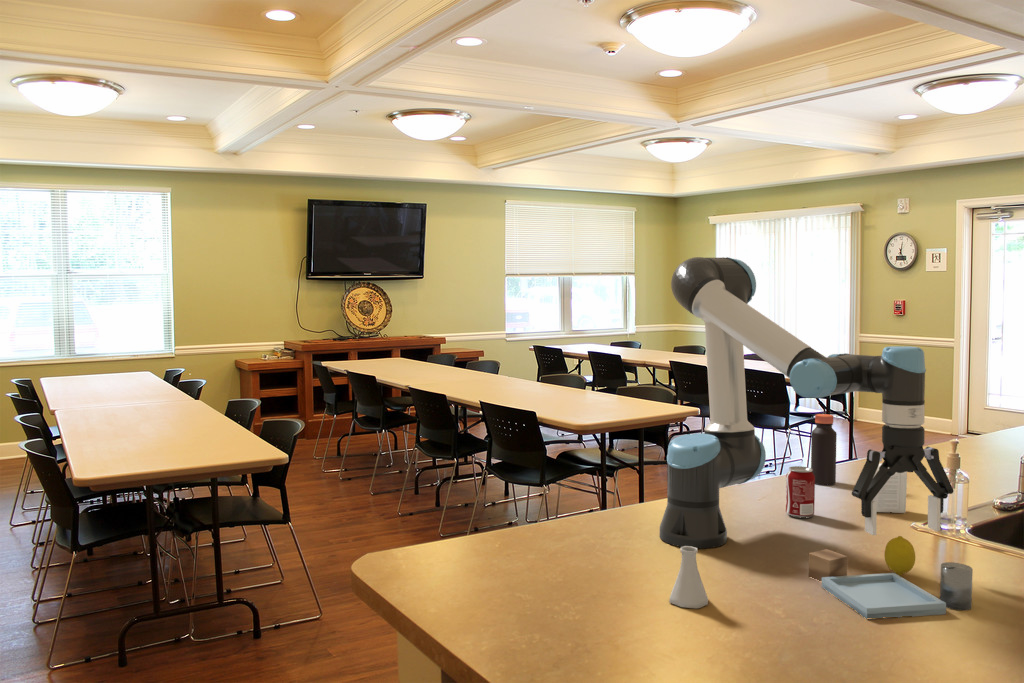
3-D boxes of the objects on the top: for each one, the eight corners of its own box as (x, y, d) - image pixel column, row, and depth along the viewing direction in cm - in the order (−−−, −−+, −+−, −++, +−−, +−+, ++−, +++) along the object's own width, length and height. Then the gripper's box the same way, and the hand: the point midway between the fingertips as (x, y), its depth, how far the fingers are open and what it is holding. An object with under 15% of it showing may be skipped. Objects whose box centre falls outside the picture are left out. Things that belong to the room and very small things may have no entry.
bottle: (839, 485, 230) (840, 417, 228) (815, 485, 230) (816, 417, 229) (830, 480, 237) (831, 413, 235) (807, 480, 237) (808, 413, 235)
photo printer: (902, 509, 205) (903, 462, 204) (908, 514, 201) (909, 465, 200) (860, 508, 206) (861, 461, 205) (866, 513, 202) (867, 465, 201)
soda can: (818, 519, 197) (819, 471, 196) (790, 519, 197) (791, 471, 196) (808, 511, 204) (809, 465, 203) (782, 511, 204) (782, 465, 203)
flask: (701, 612, 142) (701, 557, 141) (662, 604, 146) (662, 550, 145) (714, 599, 148) (714, 546, 147) (676, 591, 152) (677, 540, 151)
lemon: (912, 572, 161) (913, 533, 160) (916, 581, 155) (917, 541, 155) (882, 569, 162) (883, 530, 162) (885, 578, 157) (886, 539, 157)
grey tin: (952, 611, 141) (953, 572, 141) (933, 600, 146) (934, 563, 146) (977, 609, 142) (979, 571, 142) (958, 598, 147) (959, 561, 146)
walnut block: (829, 585, 154) (829, 560, 154) (808, 577, 158) (808, 553, 158) (846, 581, 156) (847, 556, 156) (826, 573, 161) (826, 549, 160)
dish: (866, 619, 138) (866, 608, 138) (821, 587, 153) (821, 577, 153) (945, 614, 140) (946, 602, 140) (893, 582, 155) (894, 572, 155)
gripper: (854, 430, 151) (854, 540, 152) (974, 425, 155) (973, 532, 156) (833, 424, 159) (833, 529, 160) (948, 419, 162) (947, 522, 163)
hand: (902, 531), depth 158 cm, fingers open, 13 cm apart
